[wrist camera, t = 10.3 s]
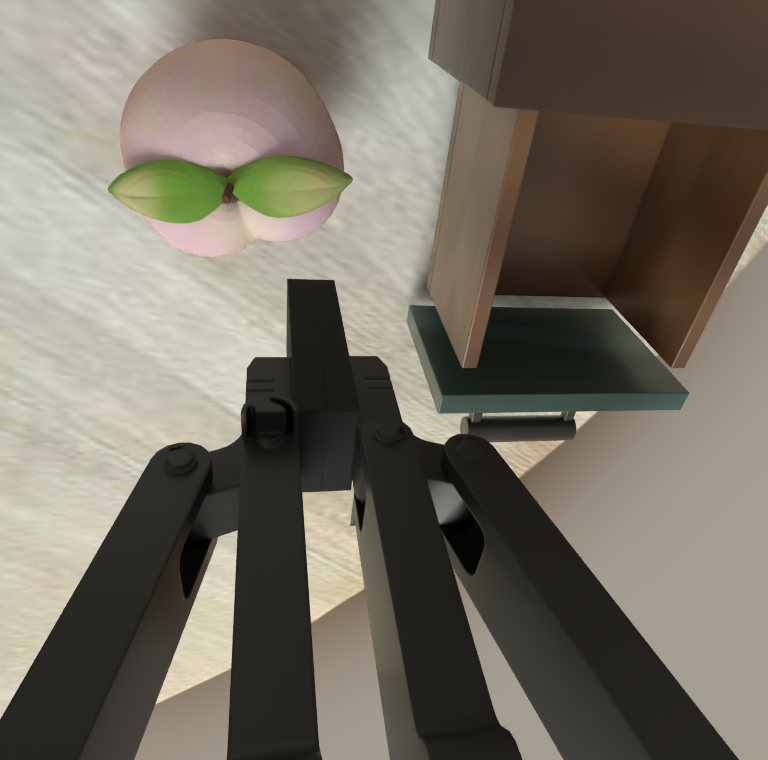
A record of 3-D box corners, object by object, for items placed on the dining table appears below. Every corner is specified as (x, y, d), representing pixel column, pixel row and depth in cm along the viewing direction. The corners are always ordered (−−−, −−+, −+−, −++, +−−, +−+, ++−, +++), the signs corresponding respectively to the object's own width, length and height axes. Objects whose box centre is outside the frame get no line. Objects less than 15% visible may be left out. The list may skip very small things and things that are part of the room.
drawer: (581, 389, 41) (643, 479, 34) (396, 390, 38) (422, 488, 31) (718, 35, 28) (865, 64, 21) (452, 4, 26) (517, 24, 19)
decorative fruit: (310, 5, 26) (323, 29, 18) (349, 183, 31) (372, 264, 23) (106, 51, 26) (29, 97, 18) (179, 222, 31) (144, 317, 23)
